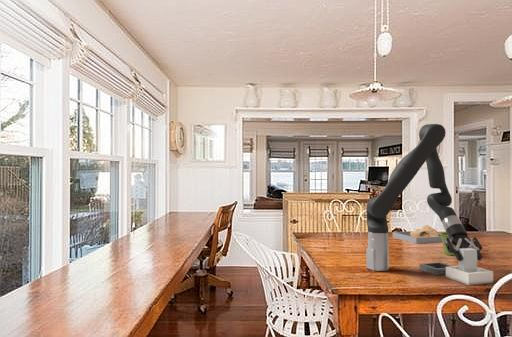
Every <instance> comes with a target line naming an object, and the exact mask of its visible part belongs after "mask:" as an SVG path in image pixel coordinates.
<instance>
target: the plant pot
mask: <svg viewBox="0 0 512 337" xmlns="http://www.w3.org/2000/svg"><path fill="white" fill-rule="evenodd" d="M439 234H440V235H441V238H442V242H441V243H442V246H443V252H444V255H446V256H454V257H456V256H455V254H454V253H452V252H451V253H449V252H448V249H447V247H446V245H445V242H444V241H445V240H446V238H449V237H448V235H447V233H446V231H445V232H439ZM451 244H452V243H451ZM452 246H453V248H454V247H455V245H454V244H452ZM459 249H460V248H459Z"/></svg>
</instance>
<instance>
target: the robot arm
mask: <svg viewBox="0 0 512 337" xmlns="http://www.w3.org/2000/svg"><path fill="white" fill-rule="evenodd" d="M446 135H447V134H446V129H445V127H444V126H443V125H442V124H440V123H439V124H438V123H429V124H428V123H426V124H424V125H422V127H420V129H419V132H418V137H419V143H417V145H416V147H414V148H413V149H412V150H411V151H409V152H408V153H407V154H406V155H404V157H402V158H401V159H400V160H399V162H398V163H397V164H396V166H395V167H394V169H393V170H392V172H391V174H390V176H389V177H388V178H389V179H388V180H387V183H386V185H385V187H384V188H383V190H382V191H381V192H380V193H379V194H378V195H377V196H375V197H372V198H370V199H369V200H368V201H367V203H366V210H365V211H366V225H367V247H366V248H365V251H366V253H365V255H366V256H365V257H366V259H365V261H366V264H365V265H366V266H365V267H366V269H368V270H371V271H378V272H379V271H380V272H386V271H389V269H390V258H389V256H390V253H389V252H390V251H389V249H390V248H389V247H390V246H389V244H390V243H389V240H390V238H389V234H390V233H389V225H388V221H387V216H388V215H389V213H390V211H391V210H392V208H393V207H394V205H395V203H396V202H397V199H398V198H399V197H400V196H401V195H402V193H403V192H404V191H405V189H406V188H407V187H408V185H409V184H410V183H411V182H412V180H413V179H414V178H415V177H416V175H417V174H418V172H419V171H420V169H421V168H422V167H423V166H424V164H425V163H426V169H427V176H428V184H429V187H430V189H431V188H432V189H437V190H440V192H434V193H430V194H428V195H427V197H426V202H427V205H428V206H429V208H430V209H431V210H432V211H433V212H434V213H435V215H437V216H438V218H439V220H440V222H441V224H442V227H443V229H444V231H445V232H446V233H447V235H448V237H449V238H446V240H445V241H444V242H445V245H446V247H447V249H448V252H449V253H451V252H452V253H454V254H455V256H454V257H455V258H456V259H457V261H458V260H459V261H462V259H463V258H462V256H461V254H460V252H459V251H458V249H459V248H460V249H461V248H473V249H476V250H477V262H479V261H481V260H482V259H483V255H482V253H481V250H483V246H482V244H481V243H480V241H479V240H478V239H477V237H476V236H474V237H473V238H470V237H469V235H468V232H467V230H466V229H465V227H464V225H463V223H462V221H461V220H460V218H459V217H458V214H456V211H455V209H453V208H452V207H451V204H452V202H453V198H452V196H451V193H450V191H449V189H448V186H447V184H446V183H447V182H446V176H445V169H444V166H443V163H442V161H441V159H440V156H439V153H438V149H437V148H438V146H440V144H441V143H442V142H443V141H444V139H445V137H446ZM451 243H452V244H454V245H455V247H454V248H453V246H452V244H451Z"/></svg>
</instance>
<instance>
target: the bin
mask: <svg viewBox="0 0 512 337" xmlns="http://www.w3.org/2000/svg"><path fill="white" fill-rule="evenodd" d="M445 278H447V279H450V280H452V281H455V282H459V283H462V284H464V285H467V286H473V285H482V284H491V283H494V271H493V270H489V269H486V268H482V267H479V266H477V272H473V273H467V272H464V271H461V270H458V265H450V266H449V267H446V274H445Z"/></svg>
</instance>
